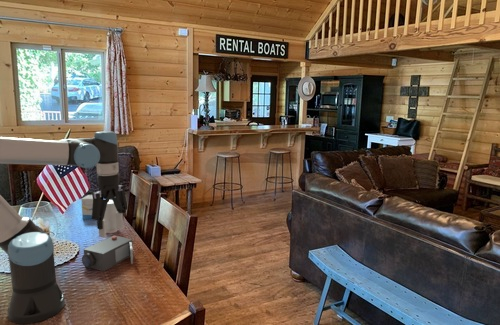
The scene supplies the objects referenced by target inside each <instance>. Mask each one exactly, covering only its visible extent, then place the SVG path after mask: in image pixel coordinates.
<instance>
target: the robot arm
mask: <svg viewBox="0 0 500 325" xmlns="http://www.w3.org/2000/svg"><path fill="white" fill-rule="evenodd" d="M118 145H119V142H118V136H117V133H116V132H115V131H109V130H101V131H95V132H94V135H93V137H87V138H86V137H84V138H83V137H82V138H66V139H59V140H51V139H50V140H48V139H34V138H24V137H23V138H21V137H19V138H18V137H7V136H0V164H2V165H4V164H5V165H41V166H69V167H71V166H72V167H80V168H83V169H91V168H93V167H96V174H97V176H96V177H97V185H98V191H96V192H92V193H91V195H92V196H93V207H92V219H91V220H93V221H96V223H97V224H96V225H97V230H98V237H100V238H105V239H106V238H107V233H106V224H105V220H104V215H105V211H106V207H107V203H108V202H109V200H113V203H114V205H115V207H116V209H117V213H116V228H117V230H120V231H124V220H125V219H124V218H125V217H124V214H125V213H126V212H127V211H128V204H127V199H126V198H127V197H126V193H125V191H126V190H125V189H126V186H125V185H122V184H120V174H119V171H120V169H119V151H118V150H119V149H118ZM100 195H101V196H100ZM126 210H127V211H126ZM54 246H55V245H54V242H53V238H52V237H51V236H50V234H48V233H46V232H45V230H44V229H43V228H42V227H40V226H39V225H37V224H36V223H35V222H34V221H33V220H32V219H31V218H30V217H29V216H21V215H20V214H19V213H18V212H17V211H16V210H15V209H14V208H13V206H12V205H10V203H9V202H8V201H7V200H6V199H5V198H4V197H3V196H2V195H1V194H0V248H1V250H3V252H4V253H6V255H7V256H8V257H7V258H8V263H9V271H10V278H11V279H10V280H11V286H12V287H11V288H12V289H11V290H12V293H11V297H10V301H9V306H8V308H7V315H8V321H10V322H11V323H13V324H18V325H28V324H35V323H39V322H42V321H45V320H48V319H50V318H52V317H53V316H55V315H57V314H59V312H61V311H62V309H63V308H64V307H65V297H64V293H63V292H62V290H61V288H60V286H59V284H58V283H57V275H56V266H55V265H56V264H55V254H54V251H55V250H54V249H55V247H54Z"/></svg>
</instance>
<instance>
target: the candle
mask: <svg viewBox="0 0 500 325" xmlns="http://www.w3.org/2000/svg"><path fill="white" fill-rule="evenodd" d="M116 213H117V209H116V207H115V205H114V203H113V200H112V199H109V202H108V203H107V207H106V211H105V215H104V219H103V220H105V224H106V234H113V233H117V232H118V230H119V229H117V228H116Z"/></svg>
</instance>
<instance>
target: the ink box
mask: <svg viewBox="0 0 500 325" xmlns="http://www.w3.org/2000/svg"><path fill="white" fill-rule="evenodd" d="M100 196H101V195H100ZM80 200H81V213H82V215H81V216H82V220H92V207H93V196H92V194H87V195H85V196H84V197H82V198H81V199H80Z"/></svg>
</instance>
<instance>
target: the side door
mask: <svg viewBox="0 0 500 325" xmlns="http://www.w3.org/2000/svg"><path fill="white" fill-rule="evenodd" d="M132 241H133V240H132ZM132 241H130V242H129V255H130V257H129V260H130V264H131V265H133V264H134V248H133V249H132Z"/></svg>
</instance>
